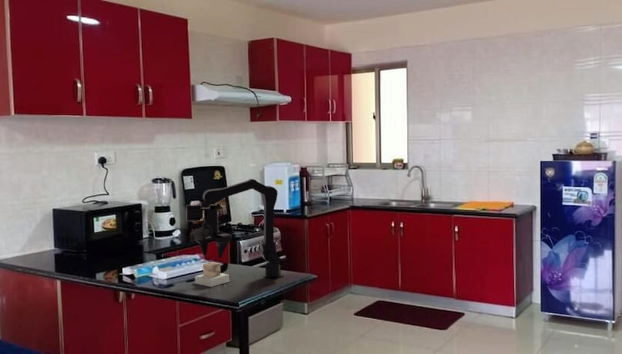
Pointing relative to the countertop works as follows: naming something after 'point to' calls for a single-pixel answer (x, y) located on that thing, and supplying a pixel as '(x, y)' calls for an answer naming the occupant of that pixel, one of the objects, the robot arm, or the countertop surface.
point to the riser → (212, 280)
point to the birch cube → (211, 269)
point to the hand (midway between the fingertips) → (212, 256)
